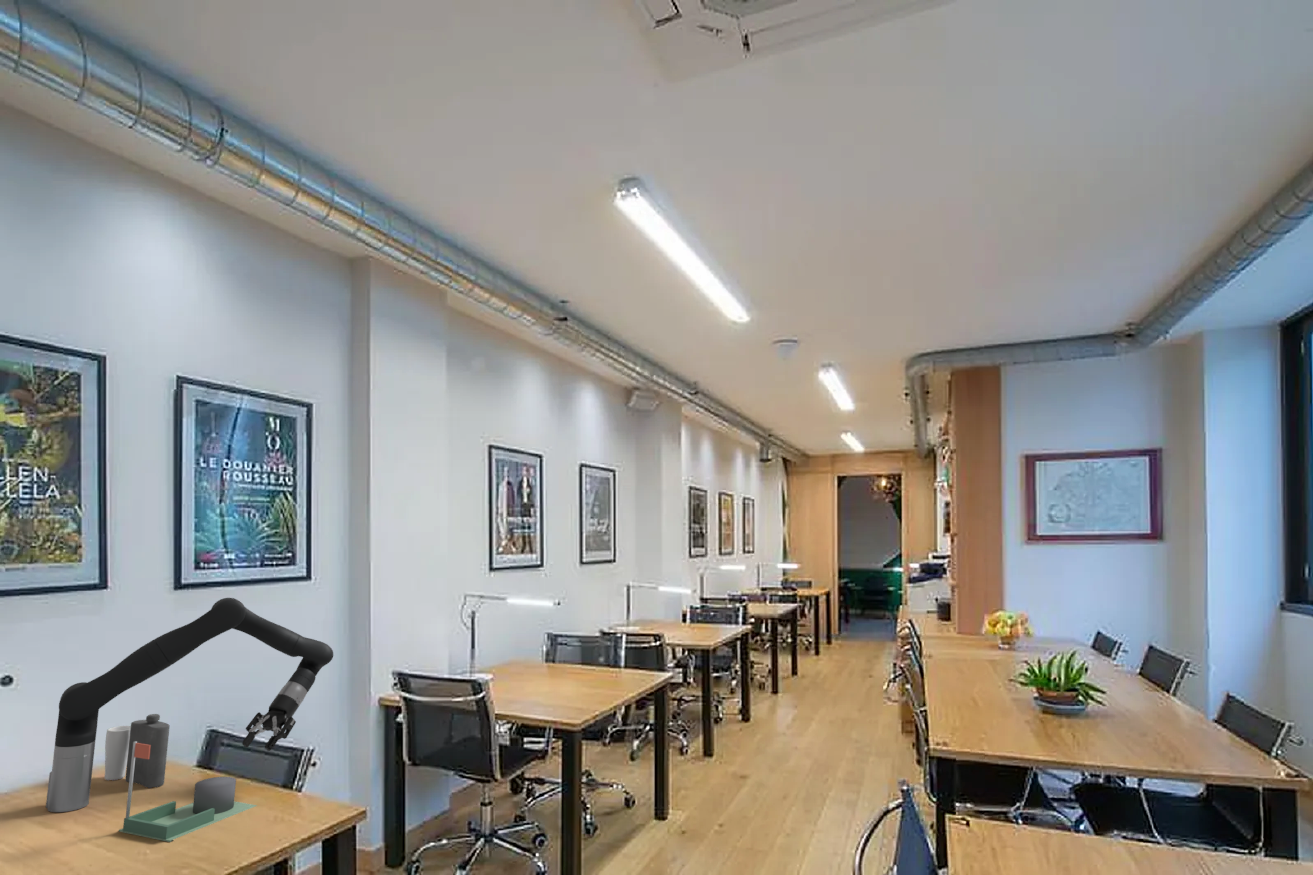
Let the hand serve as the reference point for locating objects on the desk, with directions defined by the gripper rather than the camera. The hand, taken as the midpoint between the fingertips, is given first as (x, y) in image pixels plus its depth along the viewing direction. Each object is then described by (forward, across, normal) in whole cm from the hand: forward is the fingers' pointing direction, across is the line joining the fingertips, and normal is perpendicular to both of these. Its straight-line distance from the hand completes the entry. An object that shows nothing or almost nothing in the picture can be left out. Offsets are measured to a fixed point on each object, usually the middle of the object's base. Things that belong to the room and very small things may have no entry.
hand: (255, 747), depth 230 cm
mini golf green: (+24, 0, -5) cm, 24 cm away
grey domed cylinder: (+19, 0, 0) cm, 19 cm away
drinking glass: (+13, -50, +6) cm, 52 cm away
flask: (+12, -38, +7) cm, 41 cm away
